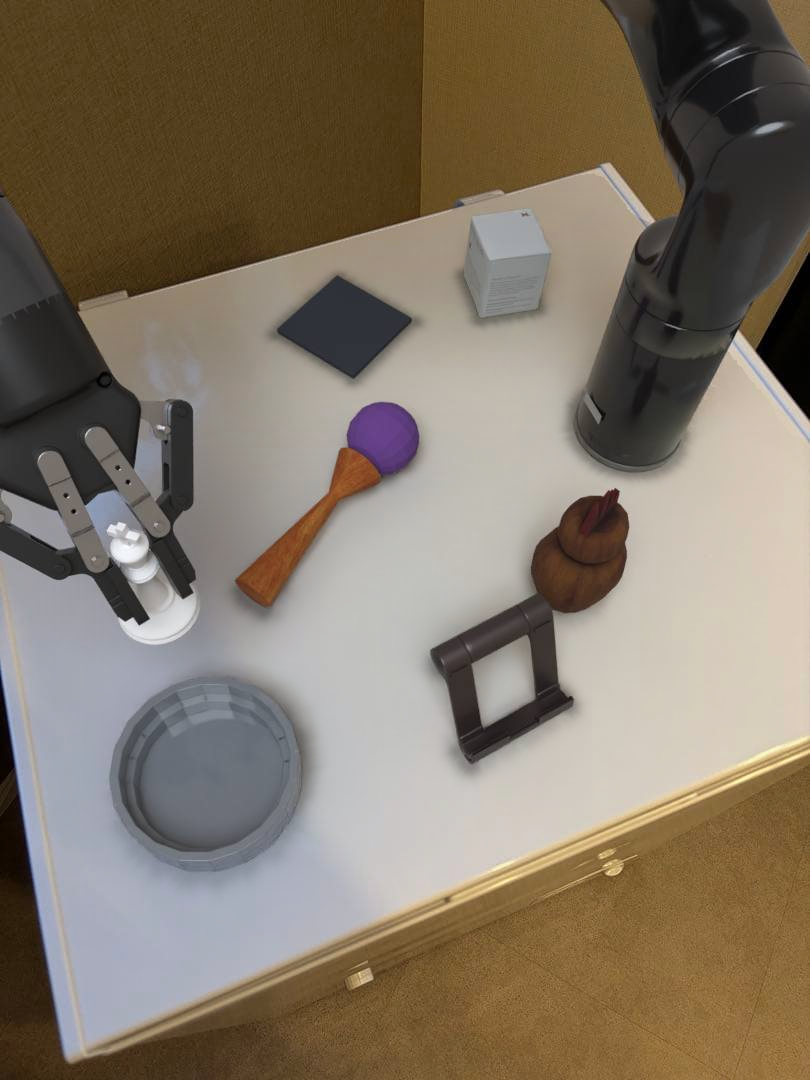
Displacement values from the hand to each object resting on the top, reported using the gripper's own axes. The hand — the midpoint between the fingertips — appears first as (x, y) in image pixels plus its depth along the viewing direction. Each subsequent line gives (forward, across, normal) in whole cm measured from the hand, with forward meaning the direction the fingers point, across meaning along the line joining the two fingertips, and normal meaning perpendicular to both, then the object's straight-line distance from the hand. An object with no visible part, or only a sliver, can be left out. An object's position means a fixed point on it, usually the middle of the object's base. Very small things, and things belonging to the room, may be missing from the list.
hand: (163, 604), depth 50 cm
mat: (-5, +29, +30) cm, 42 cm away
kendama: (+7, +16, +18) cm, 25 cm away
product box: (-1, +44, +27) cm, 52 cm away
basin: (+16, -3, +8) cm, 18 cm away
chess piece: (+2, 0, +4) cm, 5 cm away
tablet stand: (+20, +17, +4) cm, 27 cm away
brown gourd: (+18, +28, +6) cm, 34 cm away
